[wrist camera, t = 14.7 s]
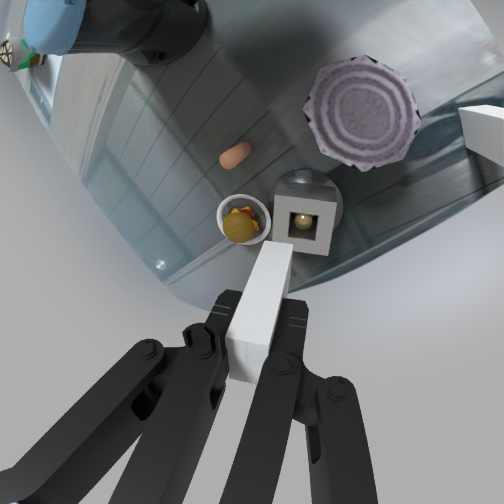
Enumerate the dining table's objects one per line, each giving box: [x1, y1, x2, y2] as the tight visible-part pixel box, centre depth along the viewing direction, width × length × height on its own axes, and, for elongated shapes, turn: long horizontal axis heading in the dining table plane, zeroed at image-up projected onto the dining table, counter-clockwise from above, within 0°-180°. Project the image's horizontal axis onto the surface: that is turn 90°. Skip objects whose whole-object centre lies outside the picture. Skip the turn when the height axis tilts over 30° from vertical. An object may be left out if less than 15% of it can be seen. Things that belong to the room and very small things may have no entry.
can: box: [303, 55, 422, 172], centre depth 26 cm, size 11×11×12 cm
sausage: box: [219, 141, 252, 169], centre depth 35 cm, size 2×2×8 cm
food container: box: [0, 36, 46, 72], centre depth 28 cm, size 12×6×10 cm, turn 51°
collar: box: [272, 181, 337, 256], centre depth 37 cm, size 8×8×6 cm
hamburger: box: [217, 194, 271, 245], centre depth 42 cm, size 12×12×6 cm
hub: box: [269, 169, 344, 230], centre depth 38 cm, size 11×11×6 cm
